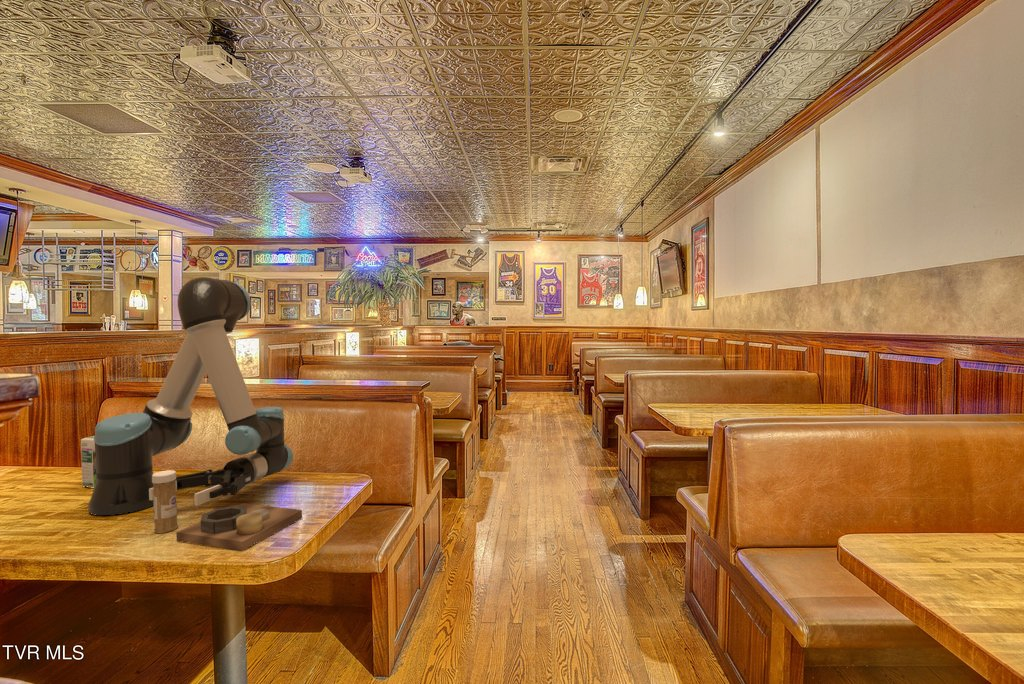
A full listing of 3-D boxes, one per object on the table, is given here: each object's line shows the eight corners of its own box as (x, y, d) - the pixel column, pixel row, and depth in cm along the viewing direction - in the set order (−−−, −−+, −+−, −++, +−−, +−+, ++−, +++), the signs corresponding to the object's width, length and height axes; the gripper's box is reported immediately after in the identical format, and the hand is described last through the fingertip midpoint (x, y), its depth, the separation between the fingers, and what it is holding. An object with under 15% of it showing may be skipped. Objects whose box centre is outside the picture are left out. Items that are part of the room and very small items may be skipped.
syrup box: (81, 487, 144) (79, 438, 144) (102, 481, 150) (100, 434, 150) (96, 489, 143) (94, 439, 142) (116, 482, 149) (114, 435, 148)
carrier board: (176, 541, 108) (175, 518, 108) (242, 510, 125) (242, 491, 125) (242, 551, 103) (241, 527, 103) (302, 518, 120) (301, 497, 120)
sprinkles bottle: (173, 532, 113) (170, 474, 112) (150, 535, 112) (147, 476, 111) (181, 524, 117) (179, 468, 116) (159, 526, 116) (157, 470, 115)
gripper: (283, 487, 132) (216, 518, 112) (208, 480, 139) (132, 508, 118) (282, 460, 132) (215, 485, 111) (208, 454, 138) (131, 477, 118)
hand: (172, 497), depth 115 cm, fingers open, 13 cm apart
